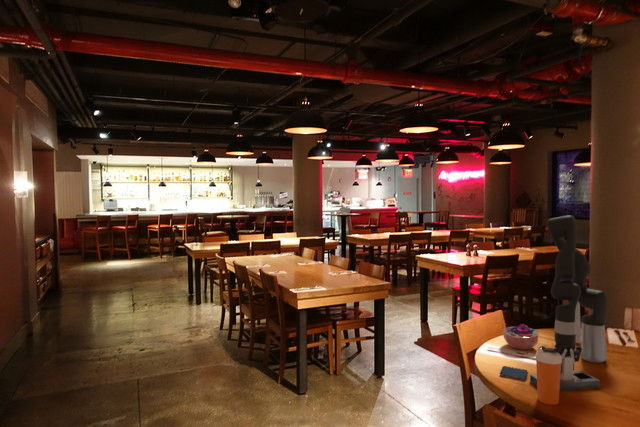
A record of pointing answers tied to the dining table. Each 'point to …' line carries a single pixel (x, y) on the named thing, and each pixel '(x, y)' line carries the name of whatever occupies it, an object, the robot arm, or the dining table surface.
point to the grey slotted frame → (574, 381)
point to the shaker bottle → (548, 375)
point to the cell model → (521, 336)
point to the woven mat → (514, 373)
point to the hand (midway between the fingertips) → (564, 371)
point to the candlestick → (578, 324)
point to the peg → (567, 368)
